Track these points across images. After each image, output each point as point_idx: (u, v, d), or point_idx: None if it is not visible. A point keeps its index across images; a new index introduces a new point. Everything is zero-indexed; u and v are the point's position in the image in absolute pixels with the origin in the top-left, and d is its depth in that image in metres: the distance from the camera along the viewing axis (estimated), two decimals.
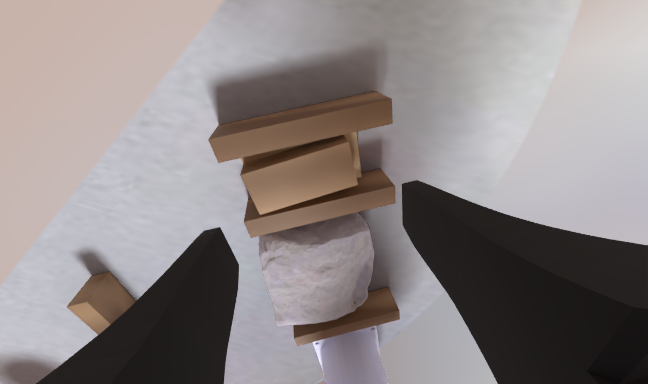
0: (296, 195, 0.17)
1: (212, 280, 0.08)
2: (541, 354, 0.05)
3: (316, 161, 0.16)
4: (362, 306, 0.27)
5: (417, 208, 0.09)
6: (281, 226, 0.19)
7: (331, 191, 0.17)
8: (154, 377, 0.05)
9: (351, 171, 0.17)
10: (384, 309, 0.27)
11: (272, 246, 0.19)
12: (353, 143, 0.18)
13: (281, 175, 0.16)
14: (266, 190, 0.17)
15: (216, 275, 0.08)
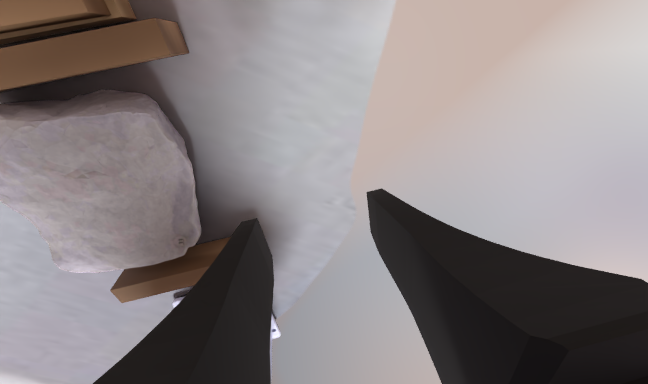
0: None
1: (256, 269, 0.08)
2: (473, 373, 0.05)
3: None
4: (215, 251, 0.20)
5: (378, 217, 0.09)
6: None
7: (39, 15, 0.11)
8: (225, 359, 0.05)
9: None
10: None
11: None
12: None
13: None
14: None
15: (258, 265, 0.08)
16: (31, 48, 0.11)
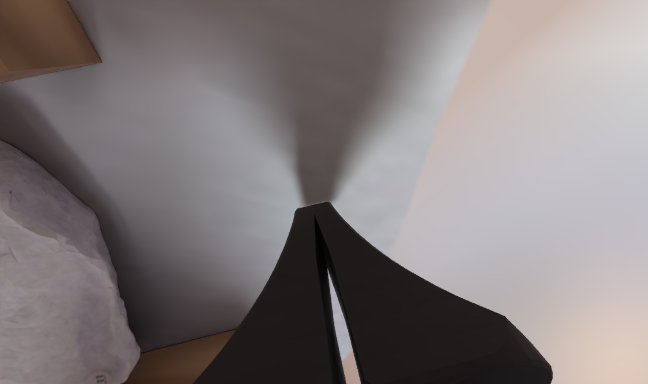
0: None
1: (320, 253, 0.08)
2: None
3: None
4: (180, 370, 0.13)
5: (319, 232, 0.09)
6: None
7: None
8: (329, 331, 0.05)
9: None
10: None
11: None
12: None
13: None
14: None
15: (320, 249, 0.09)
16: None
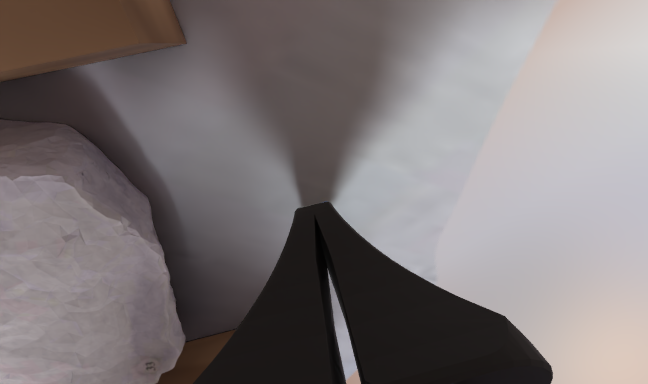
0: None
1: (320, 253, 0.08)
2: None
3: None
4: None
5: (319, 232, 0.09)
6: None
7: None
8: (329, 331, 0.05)
9: None
10: None
11: None
12: None
13: None
14: None
15: (320, 249, 0.09)
16: None
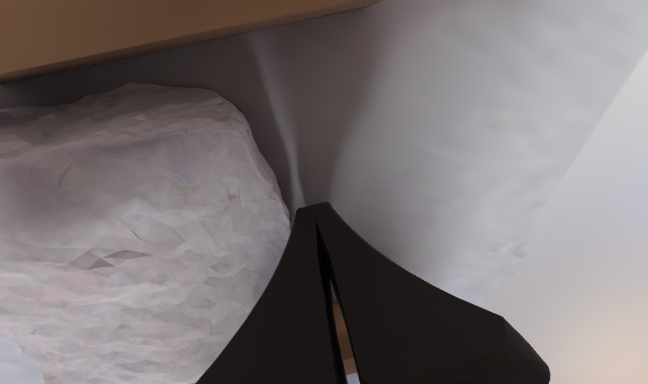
0: None
1: (322, 253, 0.08)
2: None
3: None
4: None
5: None
6: None
7: None
8: (331, 331, 0.05)
9: None
10: None
11: None
12: None
13: None
14: None
15: (322, 249, 0.09)
16: None
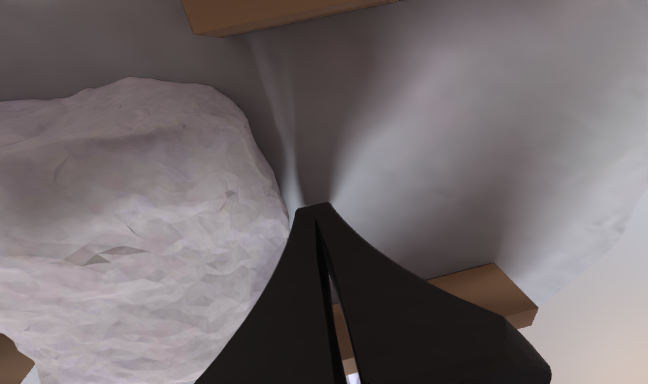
0: None
1: (321, 253, 0.08)
2: None
3: None
4: None
5: (318, 232, 0.09)
6: None
7: None
8: (330, 331, 0.05)
9: None
10: (503, 305, 0.13)
11: None
12: None
13: None
14: None
15: (321, 249, 0.09)
16: None
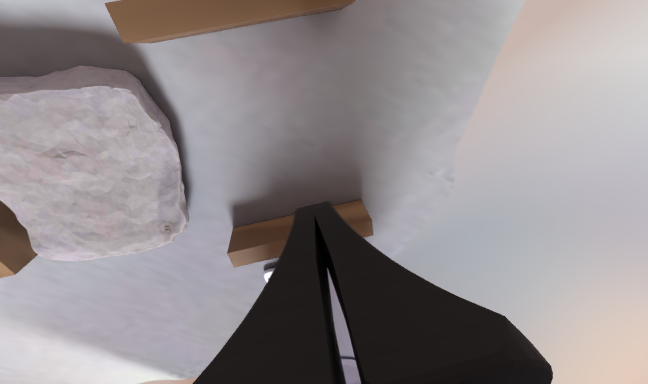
0: None
1: (320, 253, 0.08)
2: None
3: None
4: None
5: (319, 232, 0.09)
6: (172, 24, 0.12)
7: None
8: (329, 331, 0.05)
9: None
10: (352, 220, 0.20)
11: None
12: None
13: None
14: None
15: (320, 249, 0.09)
16: None
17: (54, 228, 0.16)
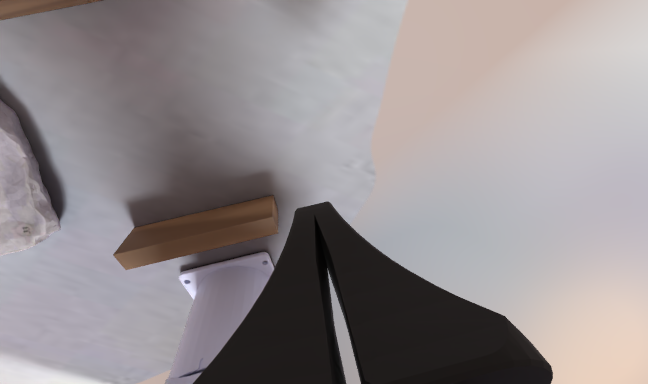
0: None
1: (320, 253, 0.08)
2: None
3: None
4: (226, 216, 0.19)
5: (319, 232, 0.09)
6: None
7: None
8: (329, 331, 0.05)
9: None
10: (253, 217, 0.18)
11: None
12: None
13: None
14: None
15: (320, 249, 0.09)
16: None
17: None
